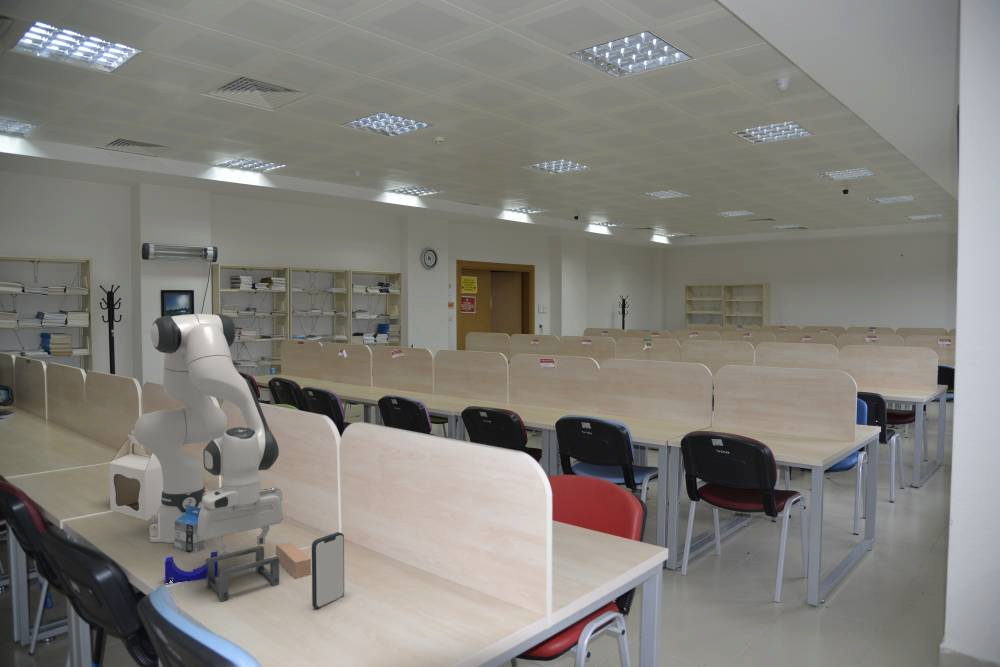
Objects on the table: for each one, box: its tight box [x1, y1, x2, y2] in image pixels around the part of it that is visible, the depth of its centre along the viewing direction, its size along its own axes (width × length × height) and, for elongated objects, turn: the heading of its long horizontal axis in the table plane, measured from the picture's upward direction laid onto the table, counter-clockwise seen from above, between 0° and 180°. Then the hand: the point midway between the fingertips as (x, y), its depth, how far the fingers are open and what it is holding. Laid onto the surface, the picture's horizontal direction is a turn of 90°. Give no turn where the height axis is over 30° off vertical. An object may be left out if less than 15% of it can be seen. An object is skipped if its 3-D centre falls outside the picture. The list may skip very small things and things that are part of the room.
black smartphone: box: [311, 531, 345, 609], centre depth 152 cm, size 9×2×16 cm, turn 144°
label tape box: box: [173, 505, 205, 554], centre depth 186 cm, size 9×4×12 cm, turn 60°
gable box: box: [108, 429, 163, 521], centre depth 220 cm, size 22×13×28 cm, turn 59°
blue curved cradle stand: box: [164, 550, 219, 584], centre depth 167 cm, size 12×4×6 cm, turn 111°
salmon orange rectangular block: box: [275, 541, 312, 580], centre depth 172 cm, size 16×4×5 cm, turn 36°
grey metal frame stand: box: [205, 545, 280, 603], centre depth 161 cm, size 12×14×7 cm
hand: (242, 548), depth 161 cm, fingers open, 8 cm apart
